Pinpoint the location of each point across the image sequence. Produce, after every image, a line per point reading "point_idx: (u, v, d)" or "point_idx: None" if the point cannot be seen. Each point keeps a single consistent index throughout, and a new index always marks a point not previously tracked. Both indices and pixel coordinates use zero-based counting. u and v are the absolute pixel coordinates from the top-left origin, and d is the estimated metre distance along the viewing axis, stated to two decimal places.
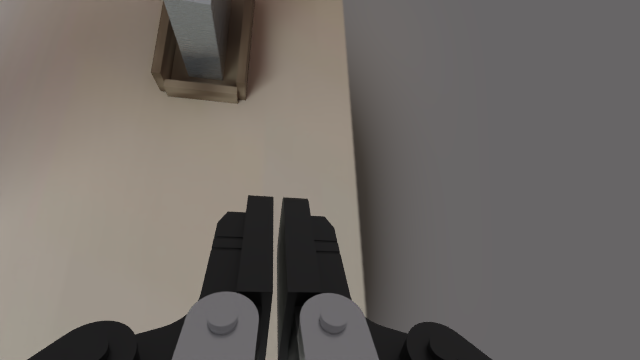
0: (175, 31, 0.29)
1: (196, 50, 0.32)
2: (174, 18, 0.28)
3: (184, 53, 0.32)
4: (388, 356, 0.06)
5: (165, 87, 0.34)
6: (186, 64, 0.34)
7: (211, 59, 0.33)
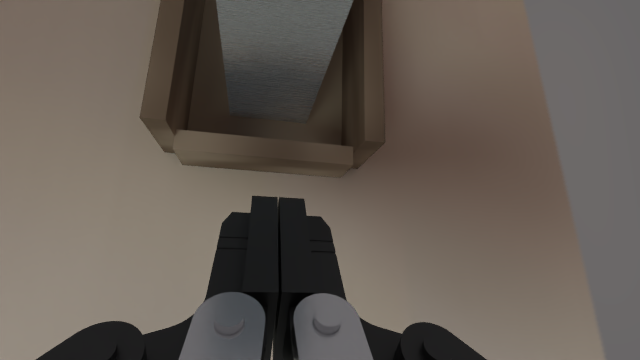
0: None
1: (270, 56, 0.11)
2: None
3: (231, 65, 0.12)
4: (382, 356, 0.06)
5: (176, 151, 0.13)
6: (231, 91, 0.13)
7: (300, 81, 0.13)
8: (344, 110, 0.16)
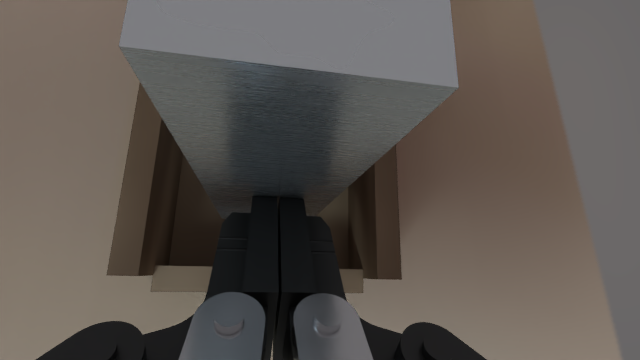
0: (197, 166, 0.07)
1: (265, 194, 0.09)
2: (198, 136, 0.05)
3: (219, 198, 0.10)
4: (382, 356, 0.06)
5: (156, 291, 0.11)
6: (220, 208, 0.12)
7: None
8: (351, 211, 0.14)
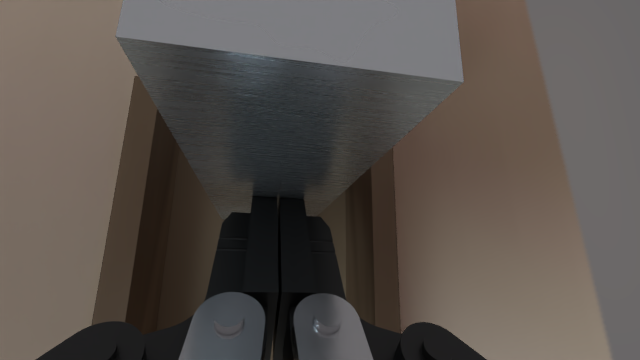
0: (196, 164, 0.07)
1: (264, 194, 0.09)
2: (197, 133, 0.05)
3: (218, 197, 0.10)
4: (382, 356, 0.06)
5: None
6: (220, 209, 0.11)
7: None
8: None
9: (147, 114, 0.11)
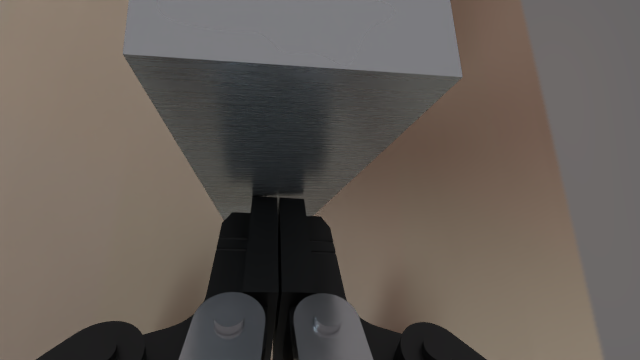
0: (200, 169, 0.07)
1: (266, 193, 0.09)
2: (202, 139, 0.05)
3: (220, 199, 0.10)
4: (382, 356, 0.06)
5: None
6: (222, 210, 0.12)
7: None
8: None
9: None
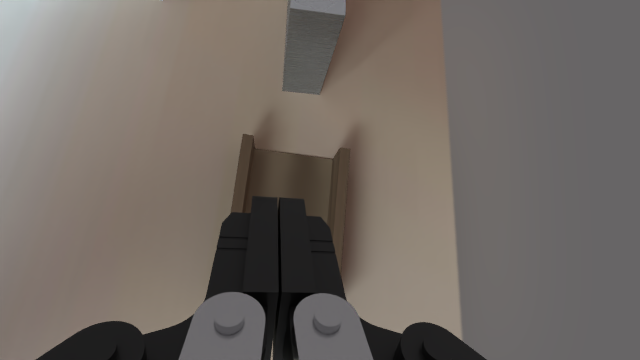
0: (288, 45, 0.25)
1: (304, 64, 0.27)
2: (293, 31, 0.23)
3: (287, 68, 0.28)
4: (382, 356, 0.06)
5: None
6: (285, 79, 0.30)
7: (316, 74, 0.29)
8: None
9: (247, 150, 0.26)
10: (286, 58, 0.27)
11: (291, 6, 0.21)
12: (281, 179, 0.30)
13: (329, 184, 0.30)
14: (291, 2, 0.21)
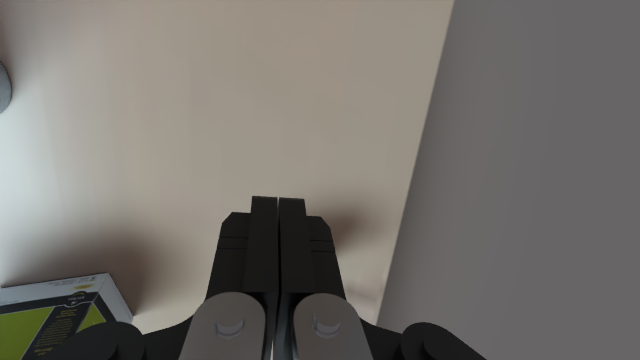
0: None
1: None
2: None
3: None
4: (382, 356, 0.06)
5: None
6: None
7: None
8: None
9: None
10: None
11: None
12: None
13: None
14: None
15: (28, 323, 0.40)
